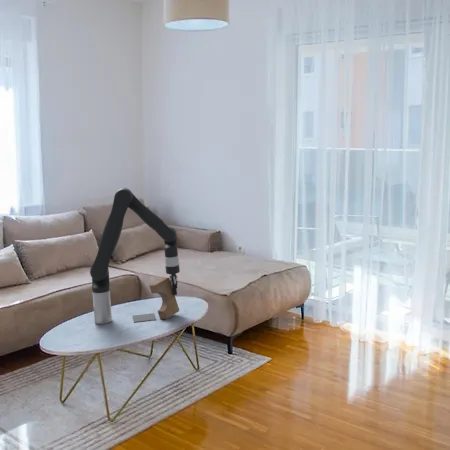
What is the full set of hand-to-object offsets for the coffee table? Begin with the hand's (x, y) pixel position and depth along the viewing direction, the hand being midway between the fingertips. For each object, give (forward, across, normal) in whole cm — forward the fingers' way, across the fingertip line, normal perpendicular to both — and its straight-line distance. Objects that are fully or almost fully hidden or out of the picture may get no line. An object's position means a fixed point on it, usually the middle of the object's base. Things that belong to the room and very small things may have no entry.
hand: (174, 294), depth 325 cm
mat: (+12, -3, -18) cm, 22 cm away
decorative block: (+11, 0, -4) cm, 12 cm away
